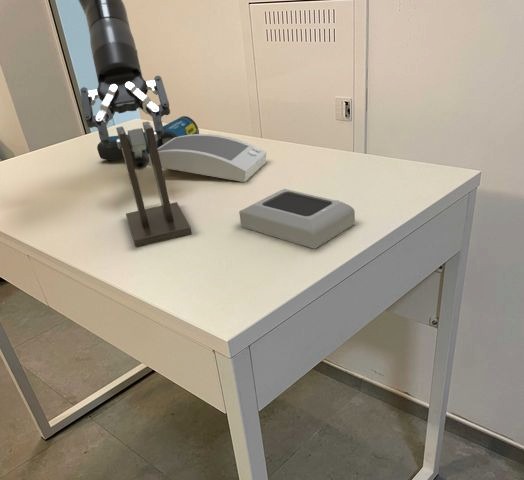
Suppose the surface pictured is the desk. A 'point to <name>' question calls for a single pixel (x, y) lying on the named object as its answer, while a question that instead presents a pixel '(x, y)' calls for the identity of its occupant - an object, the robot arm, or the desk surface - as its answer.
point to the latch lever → (138, 148)
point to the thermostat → (212, 156)
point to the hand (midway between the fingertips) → (133, 141)
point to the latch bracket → (168, 214)
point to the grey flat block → (298, 217)
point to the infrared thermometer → (171, 131)
